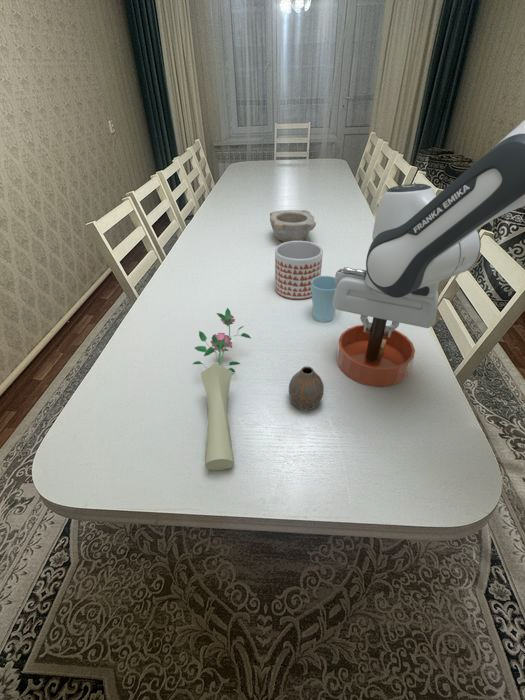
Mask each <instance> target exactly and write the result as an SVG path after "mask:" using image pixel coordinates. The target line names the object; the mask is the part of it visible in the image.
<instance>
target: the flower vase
mask: <svg viewBox="0 0 525 700" xmlns="http://www.w3.org/2000/svg"><path fill="white" fill-rule="evenodd" d="M216 315H217V316H218V317H219V318H220V321H221V323H222V324H223V325H225V326H226V327H228V334H225V332H218V333H217V334H216V333H215V334H212V337H211V340H210V344H211V346H210V345H209V344H208V343H207V341H206V340H207V339H208V337H207V335H206V334H205V333H204V332H202V331H201V330H199V331H198V336H199V340H200V341H201V342H205V344H206V345H207V346H208V348H207V346H205V345H197V346H195V347H194V349H195V350H196V351H197V352H201V353H204V354H203V357H206V356H210V355H211V354H213V353H215V357H216V360H217V362H214V363H213V364H211V365H210V366H209V367H205V370H203V371H202V372H200V375H201V379H202V383H203V387H204V392H205V395H206V401H207V411H208V412H207V434H206V435H207V436H206V445H205V457H204V458H205V459H204V467H205V469H207V470H211V471H225V470H228V469H230V468H232V467H233V466H234V465H235V459H234V454H233V453H234V452H233V448H232V439H231V431H230V424H229V416H228V399H229V392H230V386H231V381H232V375H233V373H235V374H236V369H234V368H233V367H228V366H238V365H241V362H238V361H237V360H236V361H233V360H231V361H229V362H228V364H226V366H225V365H223V366H222V365H221V364H222V361H223V357H224V354H225V352H229V349H233V341H232V337H231V328H230V327H231V325H233V324H234V323H236V322H235V320H236V319H235V317H234V315H232V313H231V310H230V309H229V307H226V309H225V311H224V314H223V313H219V312H216ZM244 327H245V326H244V325H243V326H240V327H239V328H238V329H237V331H240V330H241V329H243V328H244ZM238 333H239V332H237V334H235V335H234V337H238V336H239V337H240V336H241V337H243V338H245V339H246V338H247V339H252V337H251V336H250V334H249V333H246V332H242V333H241V334H238ZM228 348H229V349H228ZM216 351H217V352H216ZM221 353H222V354H221ZM192 365H203V363H202V362H201V361H200V360H196V361H194V362H193V363H192Z"/></svg>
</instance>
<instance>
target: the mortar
mask: <svg viewBox="0 0 525 700" xmlns="http://www.w3.org/2000/svg"><path fill="white" fill-rule="evenodd" d="M269 222H270V226H271V229H272V231H273V233H274V235H275V237H276V238H277V240H278V241H280V242H282V243H285V242H289V241H305V239H306V237H307V236H308V234H309V233H310V232H312V231H313V230H314V229H315V227H316V225H317V222H316V221H315V216H313V214H312V213H311V212H310V211H309V210H306V209H301V210H298V209H282V210H274V211H271V212H270V213H269Z"/></svg>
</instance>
